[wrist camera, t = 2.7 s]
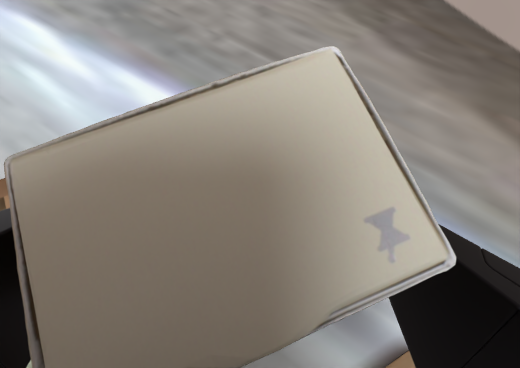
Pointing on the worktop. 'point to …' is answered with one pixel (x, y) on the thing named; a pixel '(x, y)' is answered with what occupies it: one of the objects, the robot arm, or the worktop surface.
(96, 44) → the worktop surface
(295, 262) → the skincare box
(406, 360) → the shallow wooden box
